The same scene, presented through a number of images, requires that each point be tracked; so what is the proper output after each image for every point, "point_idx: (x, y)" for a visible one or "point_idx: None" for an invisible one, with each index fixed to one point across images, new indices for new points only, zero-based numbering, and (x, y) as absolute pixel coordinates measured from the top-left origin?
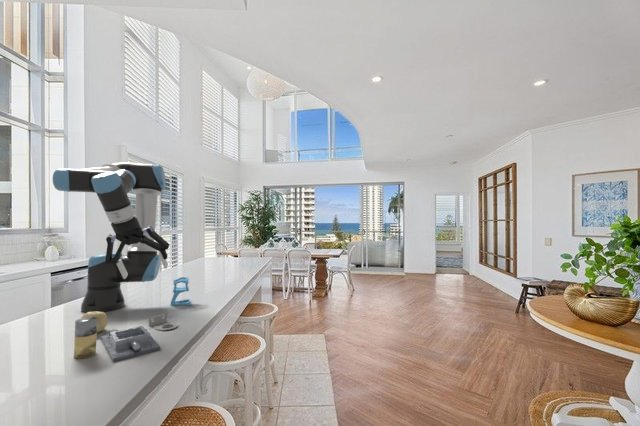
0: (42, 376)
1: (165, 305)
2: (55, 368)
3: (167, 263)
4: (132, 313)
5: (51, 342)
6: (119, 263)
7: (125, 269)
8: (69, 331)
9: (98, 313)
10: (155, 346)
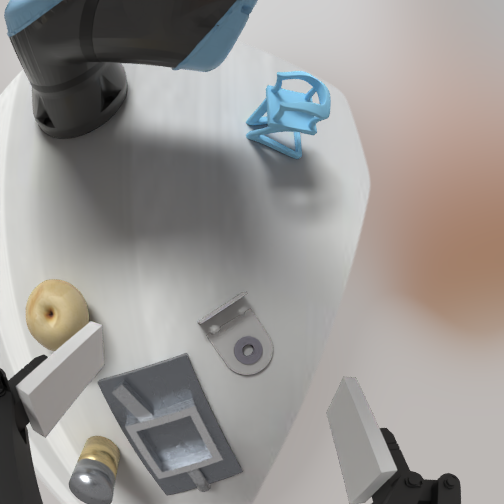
0: None
1: (232, 130)
2: None
3: (357, 385)
4: (143, 173)
5: (12, 349)
6: (47, 424)
7: (81, 349)
8: (20, 283)
9: (59, 333)
10: (233, 470)
